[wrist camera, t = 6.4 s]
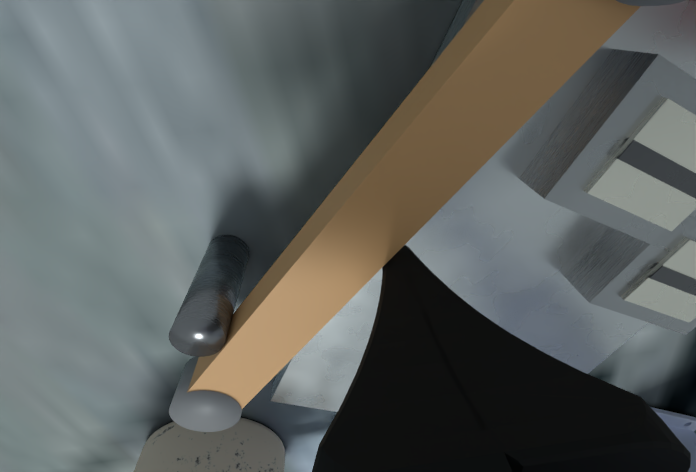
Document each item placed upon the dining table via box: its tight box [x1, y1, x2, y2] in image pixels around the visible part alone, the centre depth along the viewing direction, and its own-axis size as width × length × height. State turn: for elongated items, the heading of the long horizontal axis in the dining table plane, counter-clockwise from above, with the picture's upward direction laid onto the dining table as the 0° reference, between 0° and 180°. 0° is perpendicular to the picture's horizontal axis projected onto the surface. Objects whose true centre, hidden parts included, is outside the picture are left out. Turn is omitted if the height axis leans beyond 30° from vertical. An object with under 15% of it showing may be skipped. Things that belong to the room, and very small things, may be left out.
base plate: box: [169, 0, 696, 412], centre depth 13 cm, size 21×22×4 cm
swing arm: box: [169, 0, 686, 432], centre depth 10 cm, size 20×3×4 cm, turn 142°
